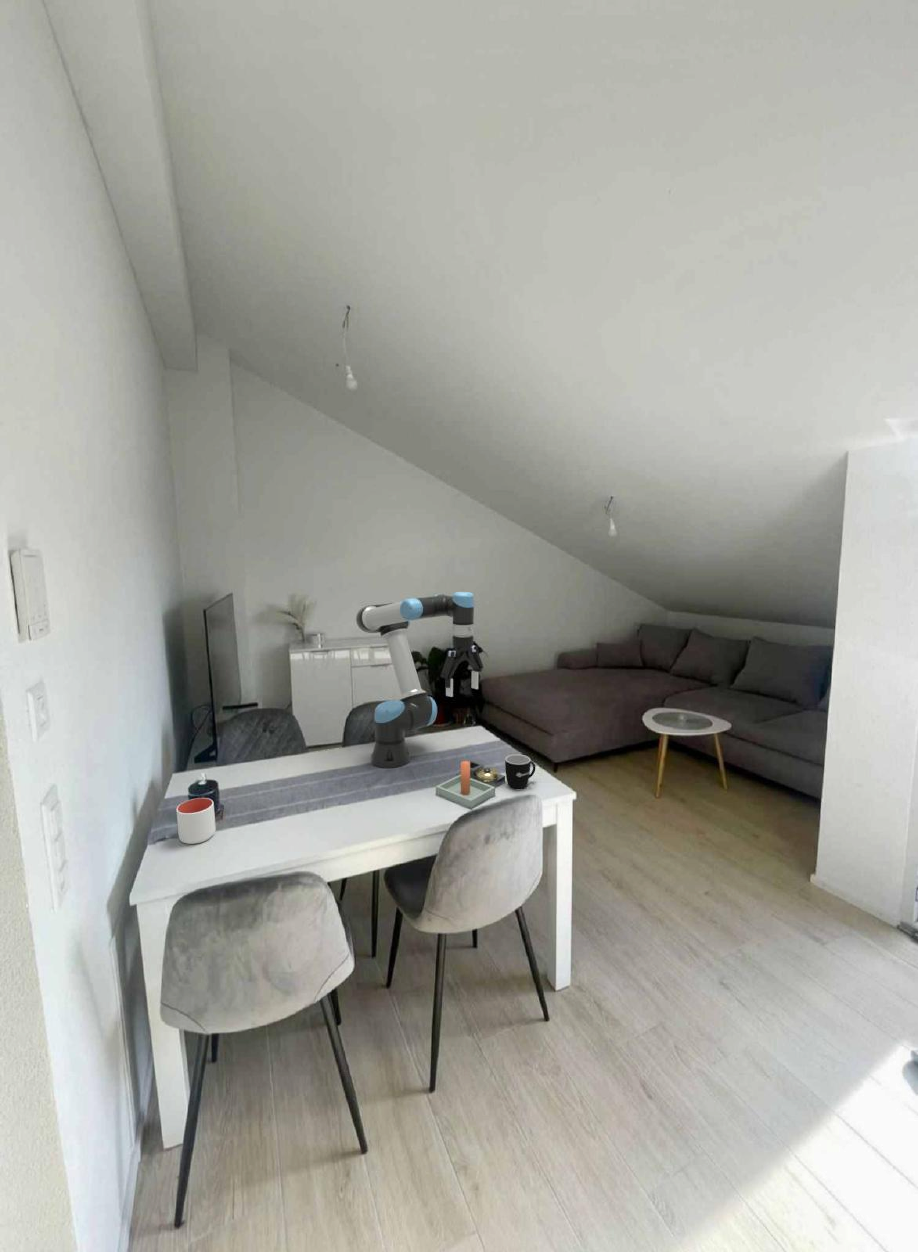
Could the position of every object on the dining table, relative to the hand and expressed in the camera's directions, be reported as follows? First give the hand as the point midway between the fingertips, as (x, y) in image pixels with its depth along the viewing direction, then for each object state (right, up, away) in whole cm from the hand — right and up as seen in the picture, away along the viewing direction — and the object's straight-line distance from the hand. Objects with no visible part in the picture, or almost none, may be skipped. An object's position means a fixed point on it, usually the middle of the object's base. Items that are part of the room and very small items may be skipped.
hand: (462, 692), depth 204 cm
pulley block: (+7, -32, -1) cm, 33 cm away
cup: (-79, -39, -37) cm, 96 cm away
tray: (+1, -34, -11) cm, 36 cm away
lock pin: (+1, -33, -12) cm, 35 cm away
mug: (+21, -33, -4) cm, 39 cm away
